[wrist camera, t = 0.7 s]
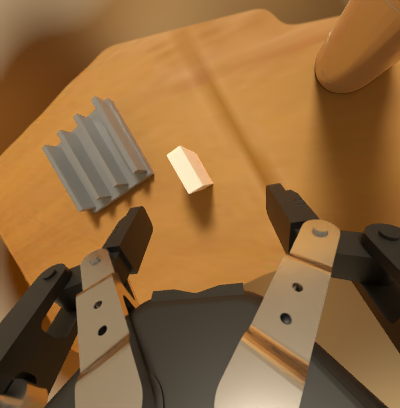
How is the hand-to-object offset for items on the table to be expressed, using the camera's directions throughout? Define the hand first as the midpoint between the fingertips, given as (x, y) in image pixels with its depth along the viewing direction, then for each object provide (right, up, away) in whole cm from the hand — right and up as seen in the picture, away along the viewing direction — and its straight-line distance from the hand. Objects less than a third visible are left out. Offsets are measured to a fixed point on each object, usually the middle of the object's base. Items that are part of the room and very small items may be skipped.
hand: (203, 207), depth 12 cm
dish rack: (-22, +10, +29) cm, 38 cm away
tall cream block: (0, +7, +24) cm, 25 cm away
